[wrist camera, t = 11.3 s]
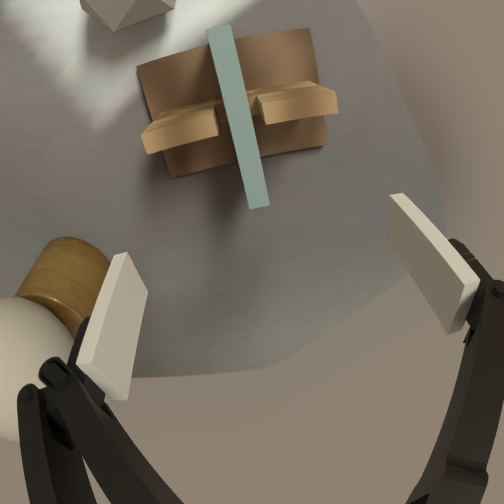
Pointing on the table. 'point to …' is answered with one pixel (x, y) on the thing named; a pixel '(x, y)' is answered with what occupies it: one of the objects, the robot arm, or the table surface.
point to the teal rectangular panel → (238, 114)
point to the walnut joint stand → (213, 109)
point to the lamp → (45, 318)
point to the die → (125, 11)
